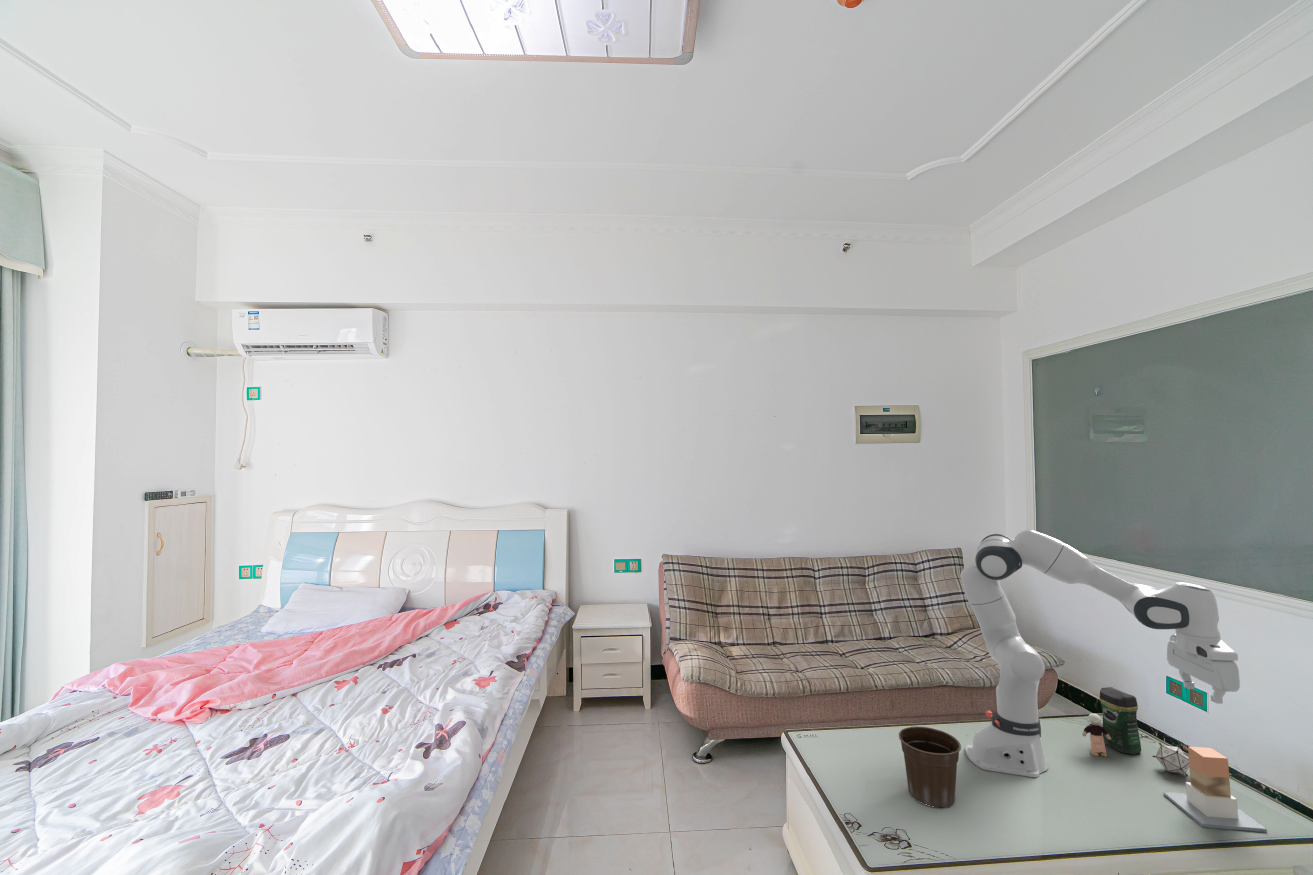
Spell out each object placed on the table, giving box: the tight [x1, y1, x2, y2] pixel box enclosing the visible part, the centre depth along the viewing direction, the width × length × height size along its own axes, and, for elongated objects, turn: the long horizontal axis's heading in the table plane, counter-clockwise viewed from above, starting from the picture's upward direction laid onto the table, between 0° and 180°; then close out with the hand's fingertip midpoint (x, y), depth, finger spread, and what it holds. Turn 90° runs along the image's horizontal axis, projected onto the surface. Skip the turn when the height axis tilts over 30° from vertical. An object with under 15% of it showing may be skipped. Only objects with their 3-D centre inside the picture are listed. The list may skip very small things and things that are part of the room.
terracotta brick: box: [1187, 746, 1230, 779], centre depth 148 cm, size 6×6×5 cm
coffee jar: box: [1099, 686, 1142, 755], centre depth 182 cm, size 10×8×19 cm
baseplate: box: [1163, 781, 1268, 833], centre depth 148 cm, size 14×14×6 cm
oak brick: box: [1188, 765, 1231, 797], centre depth 148 cm, size 6×6×5 cm
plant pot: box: [898, 726, 962, 809], centre depth 159 cm, size 16×16×16 cm
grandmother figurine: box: [1081, 712, 1111, 757], centre depth 178 cm, size 8×4×13 cm, turn 84°
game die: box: [1151, 742, 1189, 777], centre depth 167 cm, size 9×8×10 cm
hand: (1202, 694), depth 149 cm, fingers open, 8 cm apart
